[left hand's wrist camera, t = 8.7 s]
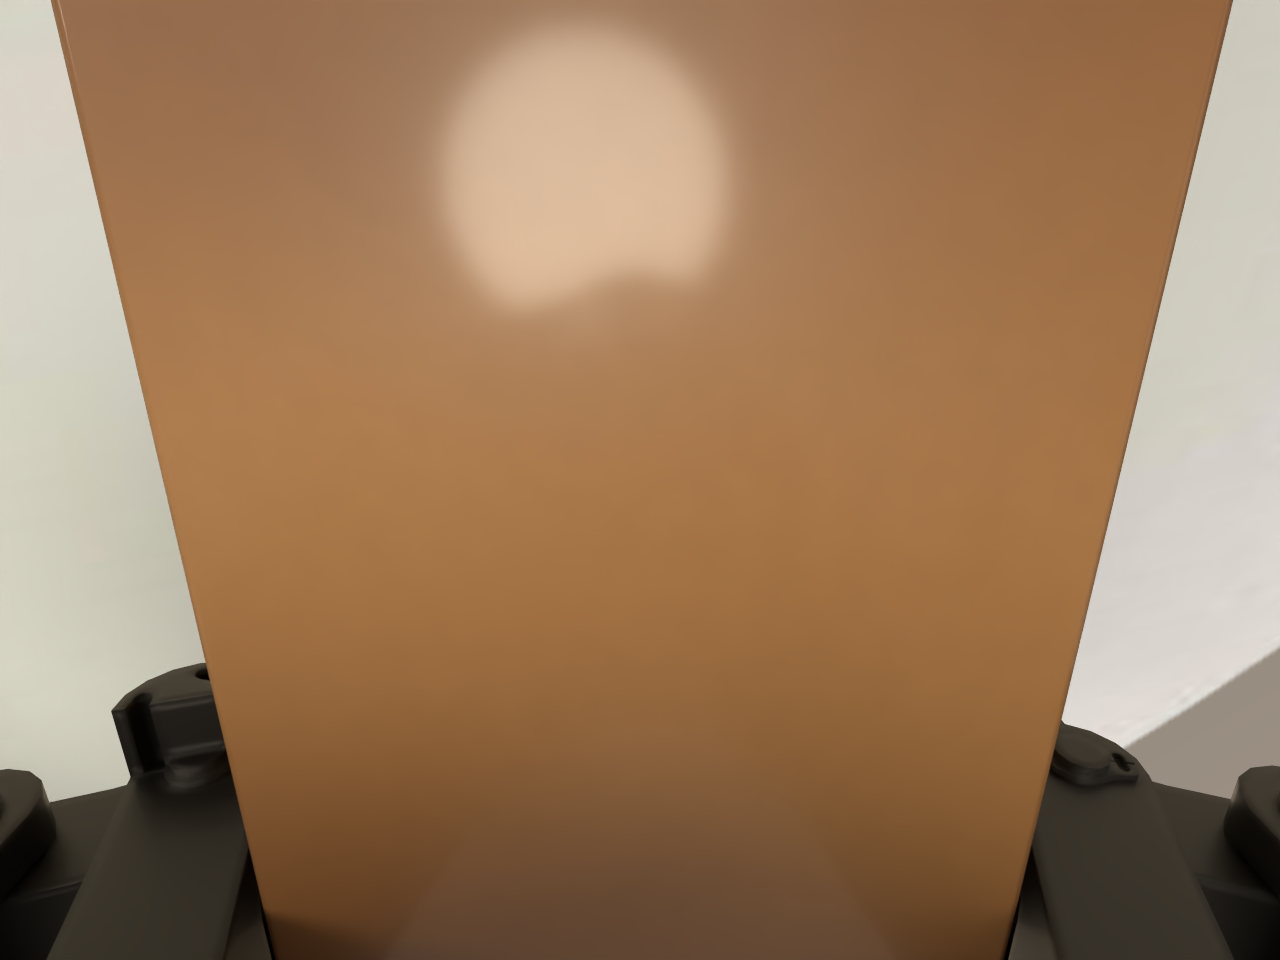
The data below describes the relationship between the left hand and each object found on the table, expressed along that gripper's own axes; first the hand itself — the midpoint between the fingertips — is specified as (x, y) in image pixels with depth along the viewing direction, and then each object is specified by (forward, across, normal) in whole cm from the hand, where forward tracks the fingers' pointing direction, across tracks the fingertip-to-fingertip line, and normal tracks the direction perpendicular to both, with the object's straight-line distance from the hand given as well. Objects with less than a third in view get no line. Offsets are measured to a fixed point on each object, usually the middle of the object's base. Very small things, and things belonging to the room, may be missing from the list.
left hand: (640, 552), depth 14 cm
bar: (0, 0, -13) cm, 13 cm away
